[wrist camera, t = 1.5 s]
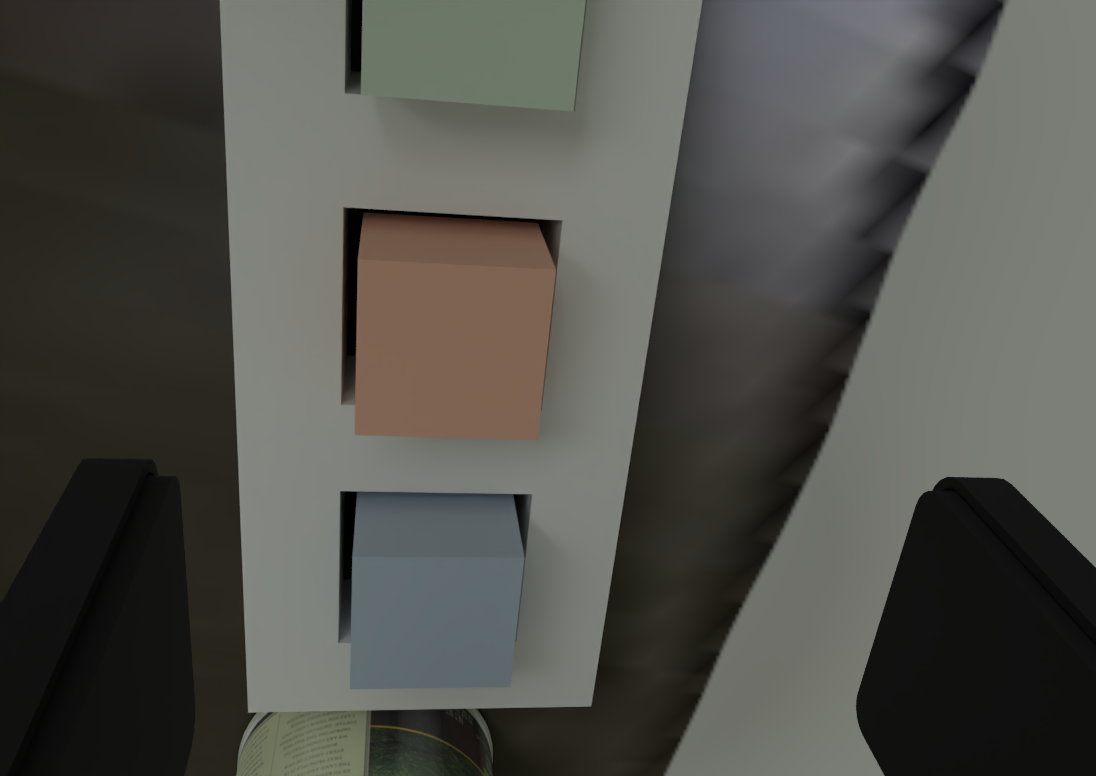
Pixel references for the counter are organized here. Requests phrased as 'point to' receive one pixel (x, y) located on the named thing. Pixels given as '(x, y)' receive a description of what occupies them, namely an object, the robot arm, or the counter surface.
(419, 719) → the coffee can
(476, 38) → the sage key
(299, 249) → the keypad housing
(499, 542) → the slate key
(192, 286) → the counter surface
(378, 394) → the terracotta key
